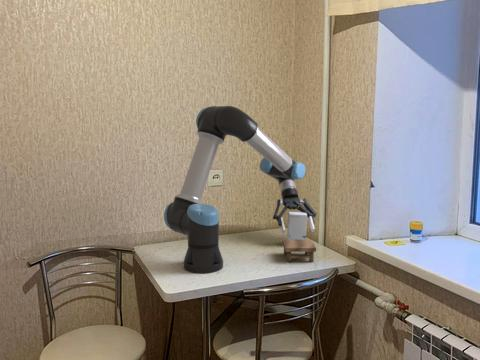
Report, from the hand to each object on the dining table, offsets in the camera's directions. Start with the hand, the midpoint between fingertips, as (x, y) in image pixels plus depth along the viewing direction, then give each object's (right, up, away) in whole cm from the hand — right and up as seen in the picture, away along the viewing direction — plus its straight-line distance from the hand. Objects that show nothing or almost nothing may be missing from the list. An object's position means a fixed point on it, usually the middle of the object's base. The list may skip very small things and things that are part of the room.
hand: (298, 231), depth 192 cm
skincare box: (0, -7, +3) cm, 8 cm away
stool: (-2, -9, -15) cm, 17 cm away
